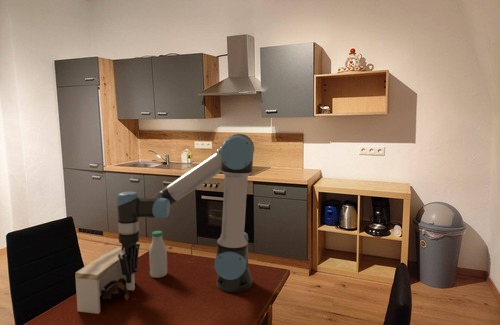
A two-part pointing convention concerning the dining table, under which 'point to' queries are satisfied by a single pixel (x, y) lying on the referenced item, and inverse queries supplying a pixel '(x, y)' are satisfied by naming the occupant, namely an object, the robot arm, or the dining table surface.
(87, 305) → the small wooden bench
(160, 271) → the milk bottle
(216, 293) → the dining table surface
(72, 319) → the dining table surface
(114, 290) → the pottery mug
